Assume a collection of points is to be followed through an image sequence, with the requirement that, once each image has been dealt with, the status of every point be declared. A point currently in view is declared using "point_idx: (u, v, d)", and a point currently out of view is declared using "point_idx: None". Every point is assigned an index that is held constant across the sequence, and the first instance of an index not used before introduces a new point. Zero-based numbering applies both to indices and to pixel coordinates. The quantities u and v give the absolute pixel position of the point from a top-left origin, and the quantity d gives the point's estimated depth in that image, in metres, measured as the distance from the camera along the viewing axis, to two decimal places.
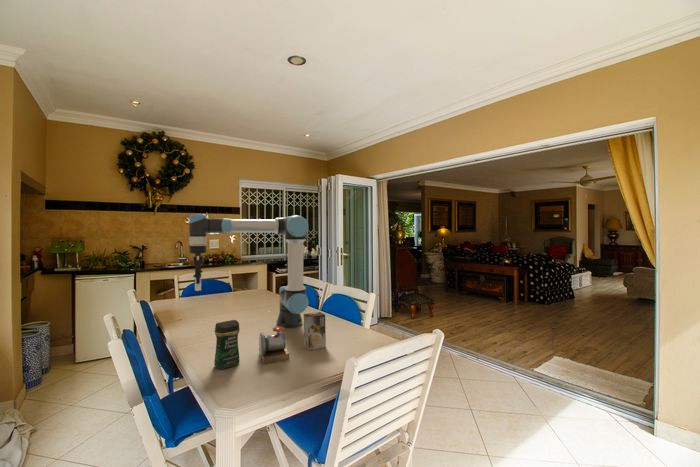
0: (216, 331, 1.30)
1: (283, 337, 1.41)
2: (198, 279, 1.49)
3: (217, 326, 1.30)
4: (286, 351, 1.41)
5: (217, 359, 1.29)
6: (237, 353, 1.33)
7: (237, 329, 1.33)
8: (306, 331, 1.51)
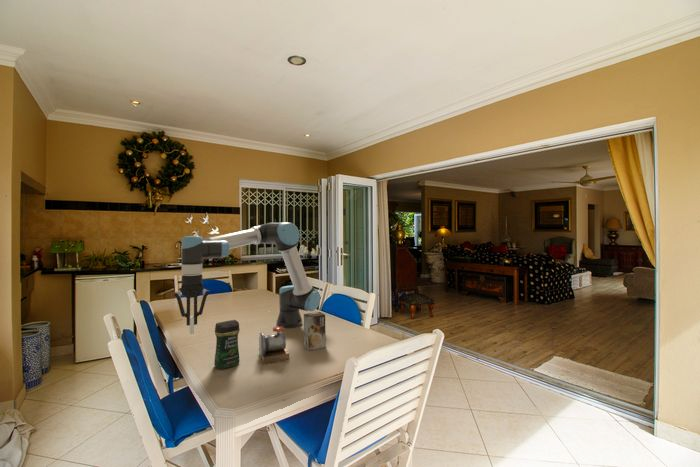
0: (216, 331, 1.30)
1: (283, 337, 1.41)
2: None
3: (217, 326, 1.30)
4: (286, 351, 1.41)
5: (217, 359, 1.29)
6: (237, 353, 1.33)
7: (237, 329, 1.33)
8: (306, 331, 1.51)
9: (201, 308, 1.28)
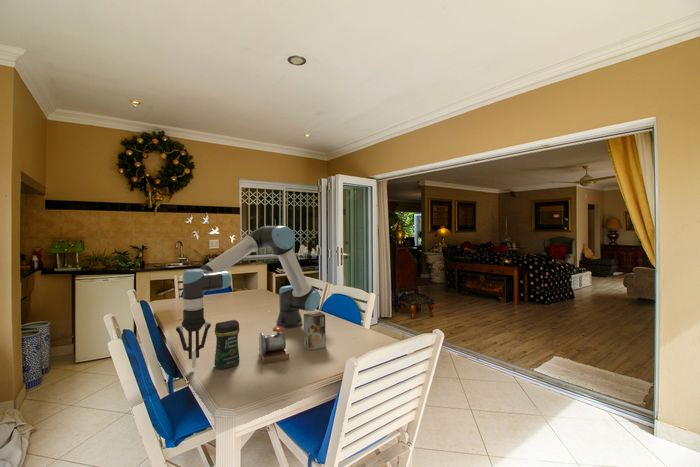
0: (216, 331, 1.30)
1: (283, 337, 1.41)
2: None
3: (217, 326, 1.30)
4: (286, 351, 1.41)
5: (217, 359, 1.29)
6: (237, 353, 1.33)
7: (237, 329, 1.33)
8: (306, 331, 1.51)
9: (203, 341, 1.28)
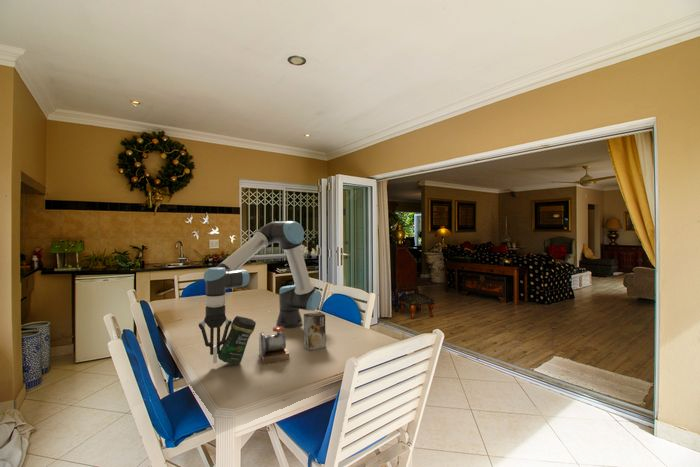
0: (234, 323, 1.33)
1: (283, 337, 1.41)
2: (210, 349, 1.30)
3: (237, 319, 1.33)
4: (286, 351, 1.41)
5: (224, 351, 1.30)
6: (243, 352, 1.34)
7: (252, 329, 1.36)
8: (306, 331, 1.51)
9: (224, 338, 1.32)
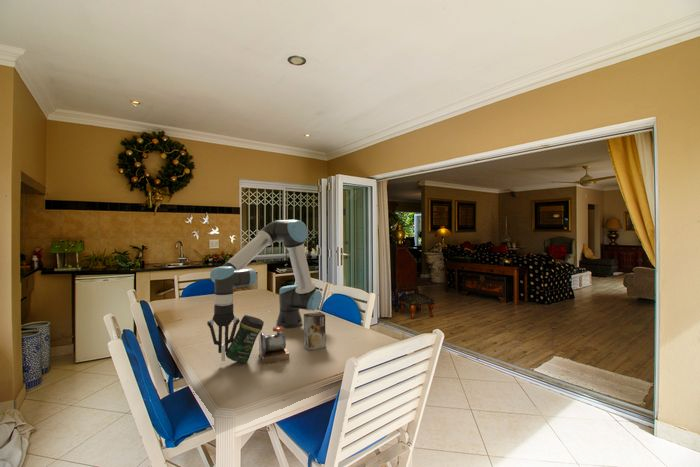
0: (243, 322, 1.34)
1: (283, 337, 1.41)
2: (218, 347, 1.32)
3: (245, 318, 1.35)
4: (286, 351, 1.41)
5: (232, 349, 1.32)
6: (250, 351, 1.35)
7: (260, 328, 1.37)
8: (306, 331, 1.51)
9: (232, 336, 1.33)
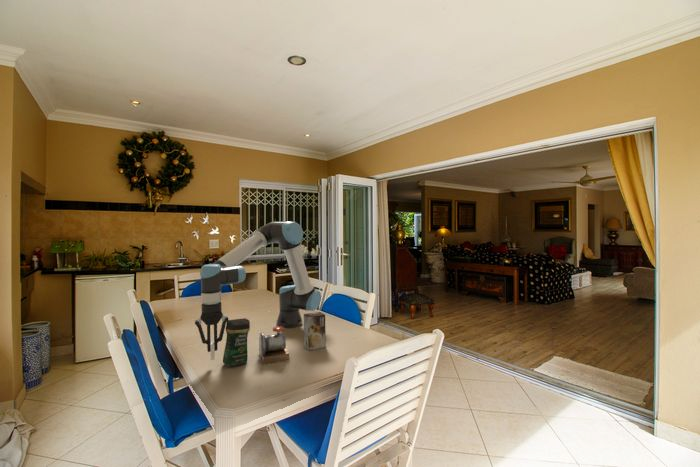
0: (227, 327, 1.32)
1: (283, 337, 1.41)
2: (207, 346, 1.30)
3: (229, 323, 1.32)
4: (286, 351, 1.41)
5: (226, 356, 1.31)
6: (246, 351, 1.35)
7: (248, 327, 1.35)
8: (306, 331, 1.51)
9: (221, 334, 1.31)
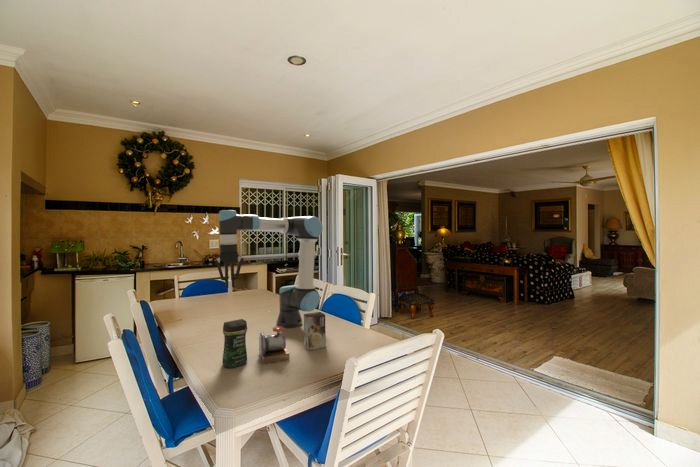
0: (224, 330, 1.31)
1: (283, 337, 1.41)
2: (225, 283, 1.45)
3: (225, 325, 1.31)
4: (286, 351, 1.41)
5: (225, 358, 1.31)
6: (245, 352, 1.34)
7: (245, 328, 1.34)
8: (306, 331, 1.51)
9: (237, 273, 1.47)
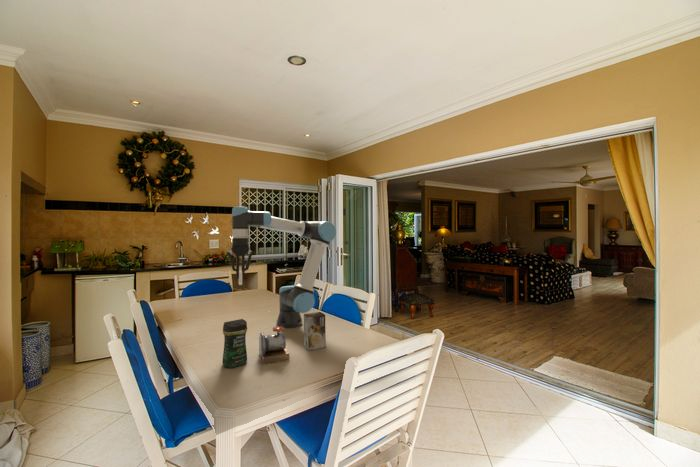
0: (224, 330, 1.31)
1: (283, 337, 1.41)
2: (236, 274, 1.58)
3: (225, 325, 1.31)
4: (286, 351, 1.41)
5: (225, 358, 1.31)
6: (245, 352, 1.34)
7: (245, 328, 1.34)
8: (306, 331, 1.51)
9: (247, 265, 1.59)
